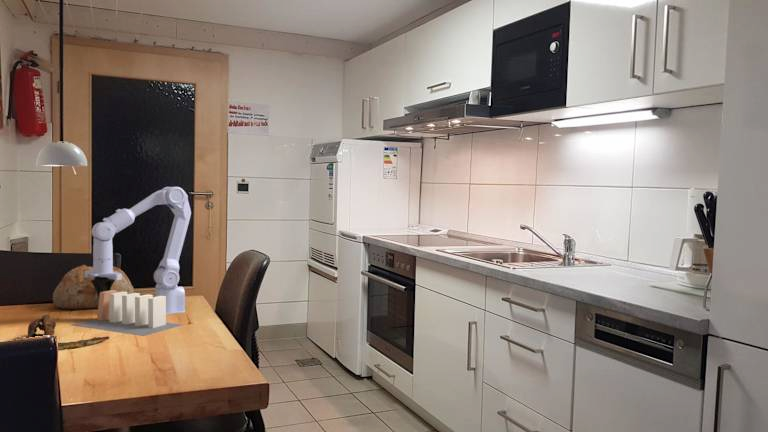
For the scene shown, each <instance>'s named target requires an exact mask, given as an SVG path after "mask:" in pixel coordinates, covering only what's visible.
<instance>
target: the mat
mask: <svg viewBox="0 0 768 432" xmlns="http://www.w3.org/2000/svg"><path fill="white" fill-rule="evenodd" d="M70 326H74V327H81V328H87V329H95V330H99V331H109V332H115V333H121V334H127V335H135V336H140V337H145V336H149V335H152V334H153V335H154V334H157V333H160V332H163V331H167V330H171V329H173V328H178V327H181V326H183V324H180V323H174V322H167V321H166V325H163V326H159V327H155V328H149V327H148V324H146V325H142V326H135V322H134V323H130V324H122V321H119V322H110V319H107V320H103V321H101V320H98V319H97V318H94V319H89V320H85V321H80V322H77V323H76V322H75V323H71V324H70Z"/></svg>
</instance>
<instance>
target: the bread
mask: <svg viewBox="0 0 768 432" xmlns="http://www.w3.org/2000/svg"><path fill="white" fill-rule="evenodd" d="M85 271H93V266H87V264H82V265H79V266H76V267H74V268H72V269H71V270H69V271H67V272H66V273H65V274H64V276H63V277H62V279H61V280H60V281H59V283H58V284H57V286H56V288H55V289H54V291H53V293H52V303H53V304H54V306H56V307H57V308H59V309H63V310H90V309H91V310H92V309H98V306H99V298H98V294H97V291H96V289H95V287H94V285H93V284H92V282H91V280H94V279H95V278H94V277H85ZM113 272H116V273H120V274H122V279H121V280H115V281H114V283H113V285H112V287H111V289H110V290H115V291H118V292H127V294H132V293H135V290H134V286H133V285H132V282H131V280H130V279H129V277H128V276H127V275H126V273H125V272H124V271H123V270H122V269H120V268H118V267H116V266H114V265H113ZM103 277H105V276H103Z"/></svg>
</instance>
